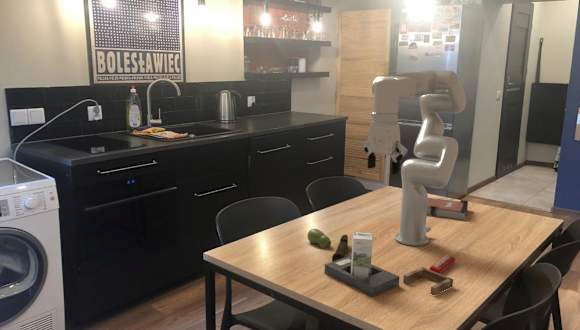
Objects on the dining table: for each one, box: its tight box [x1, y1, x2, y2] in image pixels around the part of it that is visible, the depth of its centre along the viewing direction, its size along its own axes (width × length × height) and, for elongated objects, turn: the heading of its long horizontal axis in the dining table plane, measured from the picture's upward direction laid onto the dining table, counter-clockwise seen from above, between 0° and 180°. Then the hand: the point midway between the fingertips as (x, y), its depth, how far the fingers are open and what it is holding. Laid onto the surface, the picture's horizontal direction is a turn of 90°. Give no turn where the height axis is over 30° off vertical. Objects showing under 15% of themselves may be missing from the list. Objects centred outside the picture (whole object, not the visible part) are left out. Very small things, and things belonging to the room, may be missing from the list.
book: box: [427, 197, 469, 221], centre depth 218 cm, size 26×18×5 cm
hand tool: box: [331, 234, 349, 262], centre depth 166 cm, size 19×4×5 cm, turn 163°
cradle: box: [402, 266, 454, 296], centre depth 144 cm, size 10×11×2 cm
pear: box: [307, 228, 332, 249], centre depth 175 cm, size 6×5×10 cm
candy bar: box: [429, 253, 456, 275], centre depth 157 cm, size 16×4×3 cm, turn 141°
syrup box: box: [351, 232, 373, 279], centre depth 146 cm, size 6×6×14 cm
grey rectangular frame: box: [324, 255, 400, 298], centre depth 147 cm, size 12×20×3 cm, turn 40°
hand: (383, 170), depth 153 cm, fingers open, 9 cm apart
